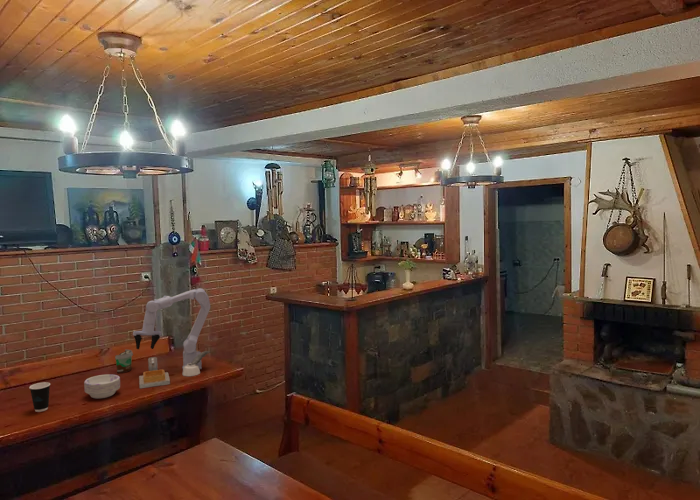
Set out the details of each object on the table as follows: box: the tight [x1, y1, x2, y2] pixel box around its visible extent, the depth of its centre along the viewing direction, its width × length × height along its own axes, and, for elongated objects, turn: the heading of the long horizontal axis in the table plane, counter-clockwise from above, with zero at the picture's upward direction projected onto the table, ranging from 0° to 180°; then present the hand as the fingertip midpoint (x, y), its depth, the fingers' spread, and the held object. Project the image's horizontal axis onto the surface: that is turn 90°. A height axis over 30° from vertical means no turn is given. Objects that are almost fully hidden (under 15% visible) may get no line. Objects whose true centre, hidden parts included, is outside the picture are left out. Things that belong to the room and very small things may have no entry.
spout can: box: [147, 356, 159, 371], centre depth 270 cm, size 4×7×8 cm
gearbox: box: [138, 369, 171, 389], centre depth 257 cm, size 14×14×4 cm
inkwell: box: [181, 350, 211, 377], centre depth 272 cm, size 9×18×10 cm, turn 148°
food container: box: [114, 348, 134, 374], centre depth 276 cm, size 12×6×10 cm, turn 179°
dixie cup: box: [28, 381, 51, 413], centre depth 222 cm, size 8×8×11 cm
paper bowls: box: [83, 373, 121, 400], centre depth 239 cm, size 15×15×8 cm
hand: (144, 348), depth 269 cm, fingers open, 7 cm apart
